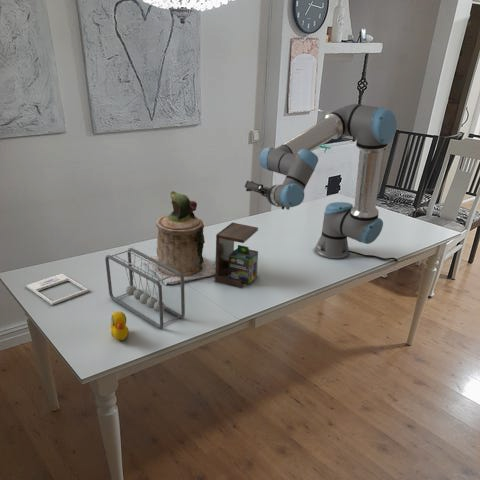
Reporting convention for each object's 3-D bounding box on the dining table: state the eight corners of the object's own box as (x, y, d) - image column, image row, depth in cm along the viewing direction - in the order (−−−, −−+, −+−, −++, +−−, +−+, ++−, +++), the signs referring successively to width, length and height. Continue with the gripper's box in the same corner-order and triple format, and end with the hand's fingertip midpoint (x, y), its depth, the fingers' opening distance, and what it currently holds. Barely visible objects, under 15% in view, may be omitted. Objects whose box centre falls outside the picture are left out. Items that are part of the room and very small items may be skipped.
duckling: (131, 346, 146) (129, 319, 141) (114, 349, 144) (111, 322, 139) (126, 327, 155) (124, 301, 150) (109, 329, 153) (106, 303, 148)
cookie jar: (166, 287, 180) (162, 206, 163) (141, 262, 197) (136, 187, 180) (221, 274, 192) (223, 198, 175) (193, 252, 209) (193, 180, 192)
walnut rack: (254, 273, 195) (258, 227, 184) (240, 288, 183) (243, 240, 172) (230, 267, 198) (232, 222, 187) (215, 281, 186) (216, 234, 176)
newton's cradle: (109, 298, 171) (103, 253, 161) (132, 289, 177) (128, 245, 168) (161, 331, 154) (159, 283, 145) (185, 319, 161) (184, 273, 152)
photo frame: (62, 272, 183) (88, 288, 173) (62, 275, 184) (88, 291, 174) (26, 284, 174) (51, 302, 164) (26, 287, 174) (52, 305, 164)
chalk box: (257, 277, 191) (259, 243, 184) (248, 286, 184) (250, 251, 176) (236, 272, 194) (238, 238, 187) (227, 280, 187) (228, 246, 180)
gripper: (245, 189, 165) (231, 190, 185) (303, 220, 173) (284, 217, 193) (254, 169, 164) (239, 172, 184) (312, 201, 172) (292, 200, 192)
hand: (262, 195), depth 188 cm, fingers open, 13 cm apart
